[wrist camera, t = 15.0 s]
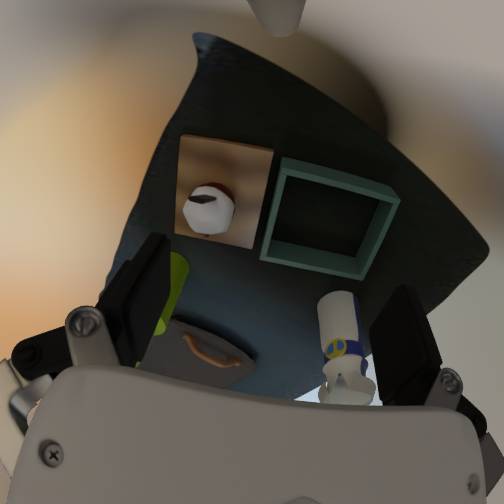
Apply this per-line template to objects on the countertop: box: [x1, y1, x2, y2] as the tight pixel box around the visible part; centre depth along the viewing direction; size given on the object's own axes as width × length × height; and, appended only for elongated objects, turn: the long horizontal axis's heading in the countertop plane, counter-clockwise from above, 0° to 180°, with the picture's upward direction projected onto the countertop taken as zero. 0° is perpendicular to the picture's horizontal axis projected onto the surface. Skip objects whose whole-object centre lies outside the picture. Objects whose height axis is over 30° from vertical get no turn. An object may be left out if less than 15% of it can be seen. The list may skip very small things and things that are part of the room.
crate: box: [260, 157, 400, 281], centre depth 38 cm, size 14×16×4 cm
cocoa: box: [183, 182, 235, 237], centre depth 34 cm, size 10×6×12 cm, turn 146°
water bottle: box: [317, 291, 376, 406], centre depth 40 cm, size 8×9×25 cm
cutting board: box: [175, 134, 274, 249], centre depth 39 cm, size 15×12×2 cm
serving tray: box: [127, 315, 258, 389], centre depth 65 cm, size 39×23×6 cm, turn 143°
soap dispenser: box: [135, 252, 190, 367], centre depth 41 cm, size 6×7×20 cm
